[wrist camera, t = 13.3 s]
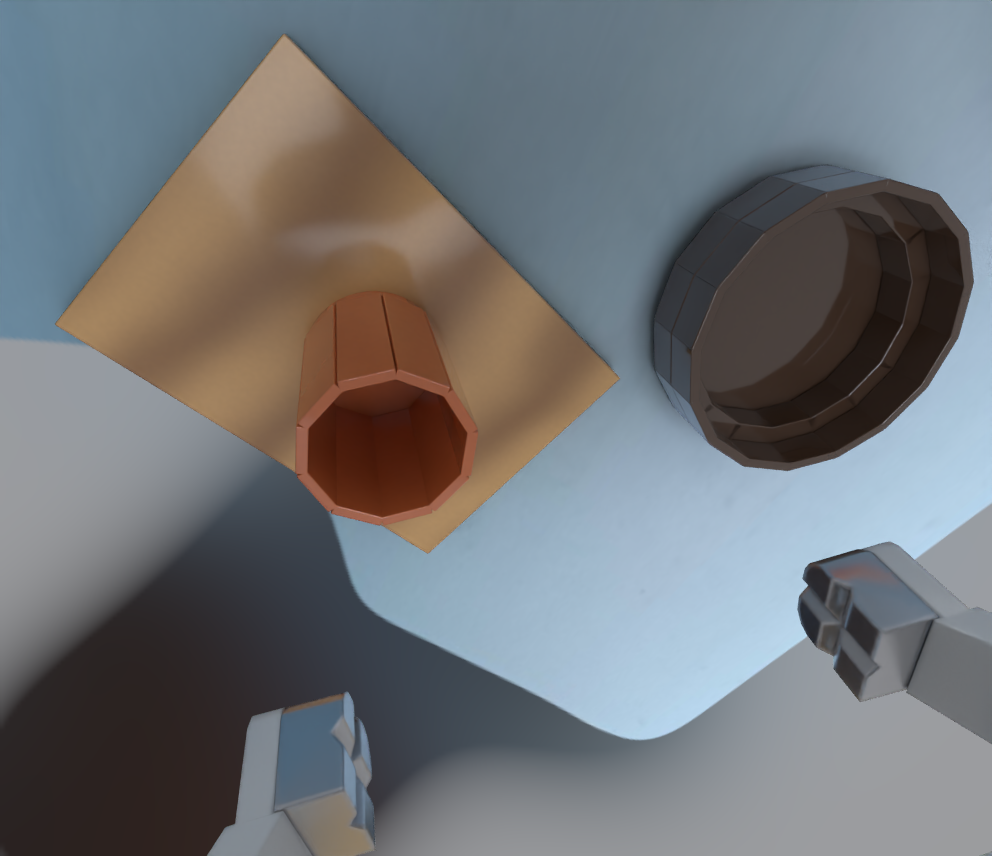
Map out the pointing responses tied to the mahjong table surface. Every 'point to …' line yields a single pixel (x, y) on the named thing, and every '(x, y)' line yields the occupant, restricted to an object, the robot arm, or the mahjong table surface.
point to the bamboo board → (325, 282)
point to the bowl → (811, 314)
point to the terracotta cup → (381, 412)
